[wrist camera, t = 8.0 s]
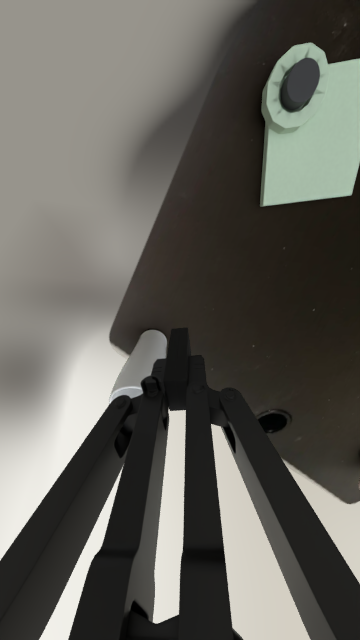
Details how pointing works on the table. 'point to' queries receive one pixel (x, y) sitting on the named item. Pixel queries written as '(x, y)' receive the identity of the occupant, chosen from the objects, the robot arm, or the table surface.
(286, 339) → the table surface
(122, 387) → the drinking glass
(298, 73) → the button
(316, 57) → the scale
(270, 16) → the table surface
